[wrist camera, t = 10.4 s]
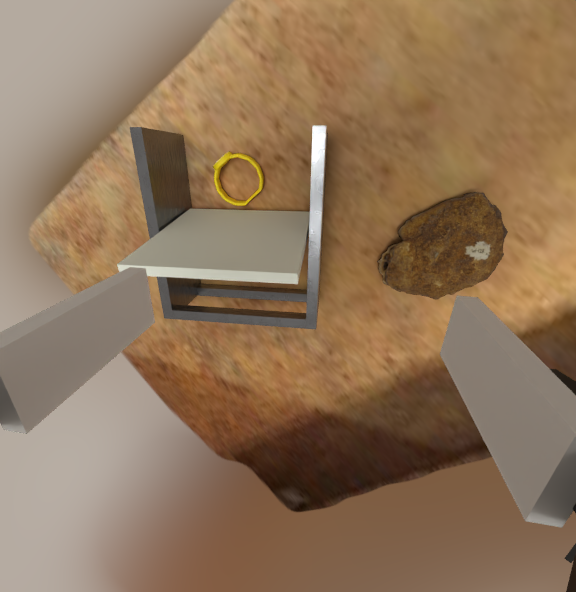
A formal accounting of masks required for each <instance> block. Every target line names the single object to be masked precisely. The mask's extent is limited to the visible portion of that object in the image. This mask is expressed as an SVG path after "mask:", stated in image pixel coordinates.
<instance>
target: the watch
mask: <svg viewBox="0 0 576 592" xmlns="http://www.w3.org/2000/svg"><path fill="white" fill-rule="evenodd" d="M237 157H238V158H241V159H244V160H247V161H249V162H250V163H251V164H252V165H253V166H254V167H255V168H256V170H257V173H258V176H259V178H260V182H259V189H258V190H257V191H256V192H255V193H254V194H253V195H252V196H251V197H250V198H249V199H248V200H247V201H237V200H235V199H233V198H231V197H229V196H228V195H227V194H226V193H225V191H224V190H223V189H222V187H221V183H220V180H219V176H220V170H221V168H222V167H223V166H224V165H225V164H226V163H227V162H228V161H229V160H230V159H232V158H237ZM213 168H214V169H215V174H214V183H215V186H216V190H217V191H218V193H219V194H220V196H221V197H222V198H223V199H224V200H225V201H227V202H229V203H231V204H233V205H236V206H245V205H246V204H247V203H248V202H249V201H250V200H252V199H253V198H254V197H255V196H256V195H257V194H258V193H259V192H260V191H261V190H262V189H263V183H264V178H263V177H264V176H263V173H262V170H261V167H260V166H259V164H258V163H257V162H256V161H255V160H254V159H253V158H252V157H250V156H248V155H245V154H242V153H240V154H239V153H236V154H232V153H231V152H230V151H228V152H227V153H226V154H224V155H223V156H222V157H221V158H220V159H219V160H218V161H217V162H216V163H215V164H214V165H213Z"/></svg>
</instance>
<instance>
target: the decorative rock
mask: <svg viewBox="0 0 576 592" xmlns="http://www.w3.org/2000/svg"><path fill="white" fill-rule="evenodd" d="M507 232H508V231H507V230H506V228H505V226H504V224H503V222H502V218H501V212H500V210H499V209H498V208H497V207H496V206H495V205H492V204H491V203H490V202H489V200H488V199H487V198H486V196H485V195H484V193H477V192H474V193H468V194H464V197H462V198H455V199H450V200H446V201H444V202H442V203H440V204H438V205H436V206H434V207H432V208H431V209H429V210H427V211H425V212H423V213H421V214H418V215H416V216H414V217H412V218H411V219H410V220H407V221H406V224H405V225H403V226H402V227H401V228H400V230H399V237H401V238H402V241H401V242H400V243H398V244H395V245H392V246H390V247H388V250H387V252H385V253H383V254H382V258H381V259H380V260H379V261H377V262H379V272H380V273H381V274H382V275H383V283H384V284H386V285H389V286H390V287H392V288H393V289H395V290H397V291H399V292H401V291H403V292H406V293H408V294H414V295H422V296H428V297H430V298H433V299H439V298H440V297H442V296H445V295H446V294H450V295H452V294H454V293H456V292H457V291H460V290H462V289H464V288H468V287H472V286H474V285H475V284H477V283H479V282H481V281H484V280H486V279H487V278H488V277H489V276H490V275H491V274H492V272H493V271H494V270H495V268H496V266H497V265H498V263H499V262H500V260H501V259H502V256H503V255H504V253H503V242H504V238H505V236H506V234H507Z"/></svg>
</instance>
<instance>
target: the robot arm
mask: <svg viewBox="0 0 576 592" xmlns="http://www.w3.org/2000/svg"><path fill="white" fill-rule="evenodd" d="M154 323H155V319H154V314H153V308H152V302H151V296H150V290H149V285H148V279H147V273H146V268H136V267H129V268H127V269H125V270H123V271H121V272H119V273H117V274H115V275H113V276H111V277H109V278H107V279H105V280H103V281H101V282H99V283H97V284H95V285H93V286H91V287H89V288H87V289H85V290H83V291H81V292H79V293H77V294H75V295H73V296H71V297H70V298H68V299H66V300H64V301H62V302H60V303H58V304H56V305H54V306H52V307H50V308H48V309H46V310H44V311H42V312H40V313H38V314H36V315H34V316H32V317H30V318H28V319H26V320H24V321H22V322H20V323H18V324H16V325H14V326H12V327H10V328H8V329H6V330H4V331H2V332H0V423H1V425H2V427H3V429H4V430H8V431H14V432H20V433H26V434H27V433H28V432H29V431H30V430H32V429H33V428H34V427H35V426H36V425H37V424H39V423H40V422H41V421H42V420H43V419H44V418H45V417H47V415H49V414H50V413H51V412H52V411H54V410H55V409H56V408H57V407H58V406H59V405H60V404H62V403H63V402H64V401H65V400H66V399H67V398H68V397H70V396H71V395H72V394H73V393H74V392H75V391H77V390H78V389H79V388H80V387H81V386H82V385H83V384H85V383H86V382H87V381H88V380H89V379H90V378H91V377H93V376H94V375H95V374H96V373H97V372H98V371H99V370H101V369H102V368H103V367H104V366H105V365H106V364H108V363H109V362H110V361H111V360H112V359H113V358H114V357H116V356H117V355H118V354H119V353H120V352H121V351H123V350H124V349H125V348H126V347H127V346H128V345H129V344H131V343H132V342H133V341H134V340H135V339H136V338H137V337H139V336H140V335H141V334H142V333H143V332H144V331H146V330H147V329H148V328H149V327H150V326H151V325H152V324H154ZM440 355H441V357H442V359H443V361H444V363H445V365H446V367H447V369H448V371H449V373H450V375H451V377H452V379H453V381H454V383H455V385H456V387H457V389H458V391H459V393H460V394H461V396H462V398H463V400H464V402H465V404H466V406H467V408H468V410H469V412H470V414H471V416H472V418H473V420H474V422H475V424H476V426H477V428H478V430H479V432H480V434H481V436H482V438H483V439H484V441H485V443H486V445H487V447H488V449H489V451H490V453H491V455H492V457H493V459H494V461H495V463H496V465H497V467H498V469H499V471H500V473H501V475H502V477H503V478H504V481H505V483H506V484H507V486H508V488H509V490H510V492H511V494H512V496H513V498H514V500H515V502H516V504H517V506H518V508H519V510H520V512H521V514H522V516H523V518H524V520H525V521H528V522H534V523H540V524H546V525H551V526H557V527H563V525H564V524H565V522H566V521H567V519H568V518H569V516H570V515H571V513H572V512H573V511H575V513H576V381H574V380H572V379H571V378H569V377H567V376H566V375H564V374H563V373H561V372H559V371H558V370H556V369H549V368H548V367H547V366H546V365H545V364H544V363H543V362H542V361H541V360H540V359H539V358H538V357H537V356H536V355H535V354H534V353H533V352H532V351H531V350H530V349H529V348H528V347H527V346H526V345H525V344H524V343H523V342H522V341H521V340H520V339H519V338H518V337H517V336H516V335H515V334H514V333H513V332H512V331H511V330H510V329H509V328H508V327H507V326H506V325H505V324H504V323H503V322H502V321H501V320H500V319H499V318H498V317H497V316H496V315H495V314H494V313H493V312H492V311H491V310H490V309H489V308H488V307H487V306H486V305H485V304H484V303H483V302H482V301H481V300H480V299H479V298H478V297H468V296H457V297H456V300H455V304H454V307H453V311H452V314H451V317H450V321H449V324H448V328H447V331H446V335H445V338H444V342H443V345H442V349H441V352H440ZM565 559H566V560H567V561H569V562H570V563H571V562H572V561H573V560H574V562H573V567H572V571H571V574H570V579H569V582H568V587H567V591H566V592H576V544H575V545H574V546H573V548H572V549H571V551H570V552H569V553H568V555H567V556H566V557H565Z"/></svg>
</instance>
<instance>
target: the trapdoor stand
mask: <svg viewBox="0 0 576 592" xmlns="http://www.w3.org/2000/svg"><path fill="white" fill-rule="evenodd" d="M130 132H131V137H132V143H133V148H134V154H135V159H136V165H137V170H138V176H139V181H140V187H141V192H142V198H143V203H144V209H145V214H146V220H147V225H148V231H149V236H150V239H151V238H152V237H154V236H155V235H156V234H158V233H159V232H160V231H161V230H163V229H164V228H165V227H167V226H168V225H169V224H171V223H172V222H173V221H175V220H176V219H177V218H178V217H180V216H181V215H182V214H184V213H185V212H186V211H188V210H189V209H192V205H191V197H190V189H189V180H188V172H187V164H186V155H185V147H184V139H183V135H180V134H175V133H170V132H164V131H159V130H153V129H148V128H142V127H130ZM327 139H328V133H327V128H326V126H313V132H312V162H311V192H310V222H309V253H308V283H307V290H301V289H284V288H266V287H248V286H231V285H213V284H201V280H200V279H194V278H175V277H157V280H158V286H159V291H160V297H161V302H162V308H163V313H164V318H168V319H181V320H195V321H209V322H223V323H237V324H250V325H264V326H278V327H292V328H306V329H316V326H317V316H318V306H319V295H320V275H321V256H322V236H323V217H324V197H325V178H326V158H327ZM197 295H200V296H216V297H232V298H249V299H265V300H281V301H297V302H307V313H294V312H279V311H264V310H249V309H234V308H219V307H204V306H189V305H188V304H189V303H190V302H191V301H192V300H193V299H194V298H195V297H196V296H197Z"/></svg>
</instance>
